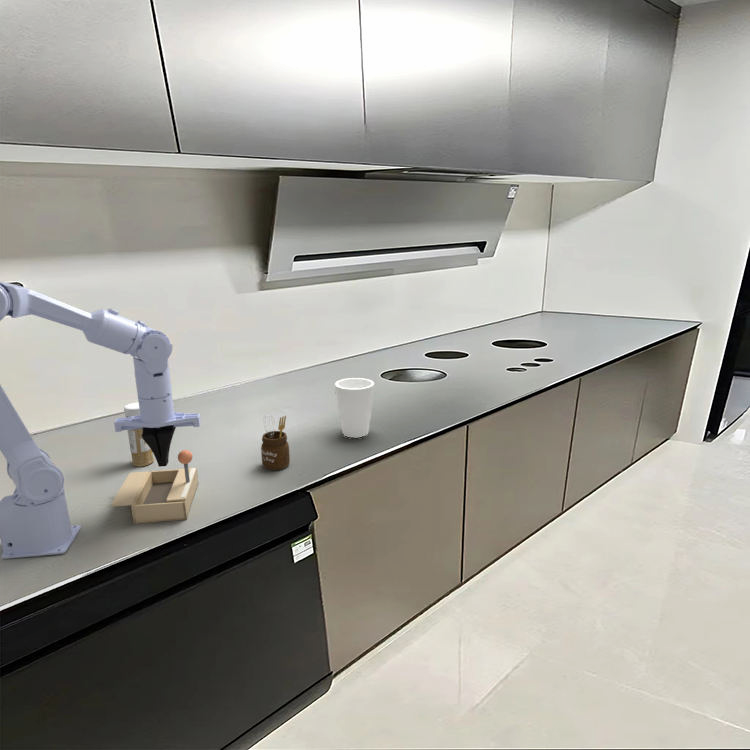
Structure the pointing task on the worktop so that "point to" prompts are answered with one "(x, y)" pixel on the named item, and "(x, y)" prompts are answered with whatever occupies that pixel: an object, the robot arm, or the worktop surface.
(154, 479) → the carton
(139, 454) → the sprinkles bottle
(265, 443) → the utensil holder
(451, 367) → the worktop surface
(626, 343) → the worktop surface
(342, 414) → the foam cup
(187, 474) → the flap
